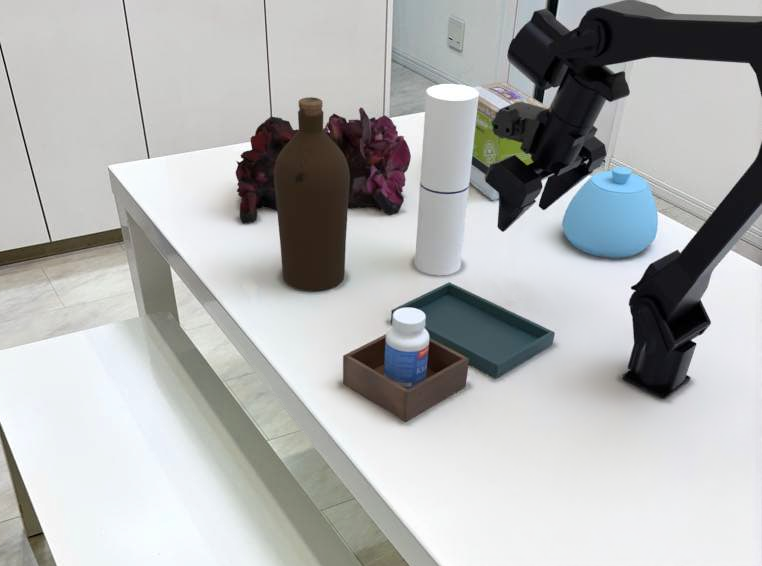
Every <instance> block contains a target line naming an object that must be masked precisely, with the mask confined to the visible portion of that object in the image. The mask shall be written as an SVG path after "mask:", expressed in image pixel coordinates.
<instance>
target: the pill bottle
mask: <svg viewBox="0 0 762 566" xmlns="http://www.w3.org/2000/svg"><path fill="white" fill-rule="evenodd" d="M425 320H426V316H425V313H424V312H423V311H421V310H419V309H416V308H409V307H406V308H400V309H398V310H396V311H395V312H394V313H393V319H392V323H391V326H390V327H389V328H388V329H387V331H386V333H385V334H386V343H385V362H384V376H385V377H387V378H389V379H390V380H392V381H394V382H396V383H397V384H399V385H401V386H402V387H404V388H406V389H407V390H408V389H409V388H411V387H413V386H415V385H417V384H418V383H420V382H422V381H424V380H425V379H426V371H427V360H428V349H429V334H428V332H427V330H426V329H425Z"/></svg>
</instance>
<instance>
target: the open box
mask: <svg viewBox="0 0 762 566" xmlns="http://www.w3.org/2000/svg"><path fill="white" fill-rule="evenodd" d="M385 343H386V333H385V334H383V335H381V336H378V337H377V338H375V339H374V340H370V341H369V342H367V343H365V344H363V345H362V346H359V347H358V348H355V349H353V350H351V351H349V352H348V353H345V354H344V355H342V385H344V386H345V387H347V388H349V389H351V390H352V391H353V392H355V393H357V394H358V395H361V396H362V397H364V398H366V399H367V400H369V401H371V402H372V403H374V404H375V405H377V406H378V407H380V408H381V409H383V410H385V411H386V412H388V413H390V414H391V415H394V416H395V417H397V418H398V419H400V420H402V421H403V422H405V423H407V422H408V421H410V420H412V419H414V418H415V417H417V416H418V415H421V414H422V413H424V412H426V411H427V410H429V409H431V408H433V407H434V406H436V405H438V404H439V403H441V402H442V401H444V400H446V399H448V398H449V397H451V396H453V395H454V394H456V393H458V392H459V391H461V390H463V389H464V388H466V387H467V380H468V374H469V373H468V371H469V365H470V364H469V358H467V357H465V356H463V355H461V354H459V353H458V352H456V351H454V350H452V349H450V348H448V347H446V346H444V345H442V344H440V343H439V342H437V341H435V340H433V339H431V338H429V349H428V360H427V371H426V379H425V380H424V381H422V382H420V383H418V384H417V385H415V386H413V387H411V388H409V389H408V390H407V389H406V388H404V387H402V386H401V385H399V384H397V383H396V382H394V381H392V380H390V379H389V378H387V377H385V376H384V362H385Z"/></svg>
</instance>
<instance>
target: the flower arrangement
mask: <svg viewBox="0 0 762 566" xmlns="http://www.w3.org/2000/svg"><path fill="white" fill-rule="evenodd" d="M358 112H359V119H348V121H347V119H346V117H343V116H340V115H338V114H336V113H332V115H330V116H329V117H328V122H326V124H325V127H323V130H324V132H325V133H326V134H327V135H328V136H329V138H330V139H331V140H332V141H333V142H334V143H335V144H336V145H337V146H338V147H339V149H340V150H341V151H342V152H343V154H344V156H345V158H346V160H347V164H348V168H349V173H350V183H349V197H348V210H349V209H351V210H352V209H376V210H379V211H383V212H384V213H385V214H387V215H389V216H391V215H395V214H398V213H399V211H400V210H401V208H402V205H403V203H404V201H405V198H404V195H403V194H402V193H403V191H404V189H403V188H404V187H405V186H406V172H407V171H408V169H409V167H410V163H411V158H412V154H411V151H410V147H409V145H408V143H407V140H406V139H405V136H404V135H399V131H397V126H396V125H395V123H394V121H393V119H391V117H389V116H387V115H381V116H379V117H378V118H376V117H371V118H370V117H369V115H368V114H367V113H366V110H365V109H364V107H359V109H358ZM298 130H299V128H297V129H294V128H293V126H292V124H291V123H290V121H289V120H285V119H283V118H282V117H278V116H270V117H268V118H267V119H265V121H264V122H262V123H261V124H260V125H258V127H256V130H255V132H254V133H255V134H254V135H253V136H251V137H250V145H251V146H250V147H251V149H250V150H245V151H242V153H241V154H240V158H241V159H242V160H241V161H237V160H236V161H235V162H236V164H237V167H236V170H235V176H236V179H237V183H236V184H237V189H236V192H237V196H239V197H240V198H241V201H240V203H239V204H240V205H239V220H240V222H241V223H242V224H250V223H254V222H256V221H257V220H258V210H259V209H262V208H265V209H269V210H274V211H277V204H276V194H275V185H274V169H275V164H276V160H277V157H278V155H279V153H280V152H281V150H282V149H283V148H284V147H285V146H286V145H287V143H288V142H289V141H290V140H291V139H292V138H293V137H294V135H295V134H296V133H297V132H298Z"/></svg>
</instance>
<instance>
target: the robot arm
mask: <svg viewBox="0 0 762 566" xmlns="http://www.w3.org/2000/svg"><path fill="white" fill-rule="evenodd" d="M506 56H507V62H509V64H511V66H513V67H514V68H515V69H517V70H518V72H520V73H521V74H523V75H524V76H525V77H526V78H527V79H528V80H529V81H530V82H532V83H533V85H535V86H536V87H538V89H540V90H541V91H548V90H549V89H551V88H557V90H556V93H555V95H554V97H553V99H552V101H551V104H550V105H549V108H548V109H545V108H542V107H539V106H535V105H532V104H528V103H524V102H517V103H514V104H511V105H509V106H506V107H504V108H501V109H499V111H498V112H496V116H495V118H494V120H492V126H493V132H494V134H495V135H497V136H498V137H499V138H502V139H503V138H506V139H511V140H514V141H517V142H521V143H522V145H521V147H520V149H521V150H522V151H523V152H524V153H526V154H530V155H531V159H532V161H533V163H531V164H529V165H526V164H525V163H524V162H523V161H521V160H520V159H519V158H518V157H517V156H515V155H513V156H509V157H506V158H504V159H501V160H499V161H497V162H495V163H493V164H491V165H490V166H489V169H488V171H487V173H486V176H485V182H486V183H488V184H489V185H490V186H491V187H492V188H493V189H495V190H496V191H497V192H498V193H499V199H498V213H497V225H496V227H497V229H498V230H499V231H501V232H502V233H504V232H506V231H507V230H508V229H509V228H510V227H512V226H513V225H514V223H515V222H517V221H518V220H519V219H520V218H521V217H522V216H523V215H524V214H525V213H526V212H527V211H528V210H529V209H531V207H532V206H533V205H535V203H537V200H536V199H537V197H538V196H539V195H540V194H541V196H540V198H539V202H538V208H540V209H541V210H543V211H545V210H547V209H549V207H551V206H552V205H553V204H554V203H555V202H557V201H558V200H559V199H560V198H562V197H563V196H565V194H567V193H568V192H569V191H571V190H572V189H573V188H574V187H576V186H577V185H578V184H579V183H581V182H582V181H583V180H584V179H586V178H587V177H588V176H591V175H592V174H593V173H594V170H597V169H598V168H599V169H600V167H601V166H602V164H603V163H604V161H605V159H606V157H607V149H606V144H605V143H604V142H602V140H601V139H599V138H597V137H596V134H597V132H598V128H597V127H596V126H595V123H596V121H597V119H598V117H599V115H600V113H601V112H602V110H603V107H604V106H605V104H606V102H609V103H612V102H615V101H618V100H620V99H624V98H626V97H629V96H630V93H631V91H630V87H629V83H628V82H627V79H626V71H625V70H621V71H618V72H614V71H613V70H611V68H609V67H608V66H611V65H619V64H623V63H628V62H633V61H638V60H643V59H650V58H661V59H676V60H692V61H693V60H694V61H708V62H721V63H722V62H723V63H724V62H726V63H737V64H738V63H739V64H749V65H750V67H751V69H752V70H753V72H754V73H755V77H756V80H757V84H758V89H759V92H760V96H761V97H762V15H736V14H735V15H732V14H731V15H729V14H728V15H726V14H697V13H695V14H694V13H673V12H670V11H667V10H664V9H662V8H661V7H659V6H657V5H655V4H651V3H648V2H644V1H640V0H619V1H615V2H612V3H608V4H603V5H599V6H596V7H591V8H590V9H588V10H587V11H586V12H585V14H583V16H582V17H581V19H580V22H579V23H578V26H577V27H576V28H574V29H572V30H570V29H569V28H567V27H566V26H565V25H564V24H562V22H560V21H559V20H558V19H557V18H556V17H555V15H554V14H553V13H552V12H551V11H550V10H548V9H547V8H542V9H538V10H535V11H533V13H532V16H531V19H530V20H529V21H527V22H526V23H525V24H524V25H523V26H522V27H521V28H520V29H519V31H518V32H517V33H516V35H515V37H514V38H512V39H511V41H510V43H509V46H508V50H507V55H506ZM544 180H546V181H545V185H544V187H543V182H542V181H544ZM541 191H542V192H541ZM761 215H762V141H761V143H760V146H759V149H758V152H757V155H756V157H755V159H754V160H753V162H752V163H750V166H749V167H748V168H747V169H746V171H744V173H743V174H742V176H740V178H739V179H738V181H737V182H736V183H735V184H734V185H733V187H732V188H731V189H730V190H729V192H728V193H727V194H726V195H725V196H724V198H723V199H722V201H721V202H720V203H719V204H718V205H717V207H716V208H715V209H714V210H713V212H712V213H711V214H710V215H709V217H708V218H707V219H706V221H704V223H703V224H702V225H701V227H700V228H699V229H698V230H697V232H696V233H695V234H694V235H693V237H692V238H691V239H690V241H688V243H687V244H686V245H685V247H684V248H683V249H682V250H681V251H679V249H676V250H674V251H672V252H670V253H668V254H666V255H665V256H663V257H660V258H658V259H657V260H655V261H653V262H651V263H650V264H649V265H648V267H646V269H645V271H644V273H643V275H642V277H641V278H640V280H639V281H637V282H636V283H635V284H634V285H631V286H630V290H632V291H633V293H632V294H631V295H630V297H629V301H628V307H629V311H630V315H631V319H632V330H633V331H632V332H633V333H632V334H633V346H632V348H631V353H630V356H629V360H628V364H627V371H626V372H625V373H623V374H622V378H621V379H622V380H623V381H625V382H627V383H629V384H631V385H633V386H635V387H637V388H640V389H641V390H643V391H646V392H647V393H650V394H652V395H654V396H656V397H657V398H660V399H663V400H664V399H667V398H669V397H671V395H673V394H674V393H676V392H677V391H679V390H680V389H682V388H683V387H684V386H685V385H687V384H688V383H689V382H690V381H691V377H690V375H687V374H688V371H689V368H690V365H691V362H692V360H693V356H694V354H695V350H696V348H697V342H695V341H693V340H694V339H695V338H697V337H699V336H702V335H703V334H705V332H706V330H707V329H708V328H709V327H710V326H711V324H712V321H711V319H710V316H709V315H708V313H707V311H706V308H705V306H704V304H703V302H702V297H703V296H704V294H705V292H706V291H707V289H708V288H709V284H710V280H711V278H712V277H711V276H712V273H713V272H714V270H715V268H716V267H717V266H718V265H719V264H720V263H721V262H722V261H723V260H724V259H725V257H727V255H728V254H729V252H730V251H731V250H732V249H733V248H734V247H735V246H736V244H737V243H738V242H739V241H740V239H742V238H743V236H744V235H745V234H746V233H747V231H749V229H750V228H751V227H752V226H753V225H754V223H756V221H757V220H758V219H759V218H760V217H761Z"/></svg>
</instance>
